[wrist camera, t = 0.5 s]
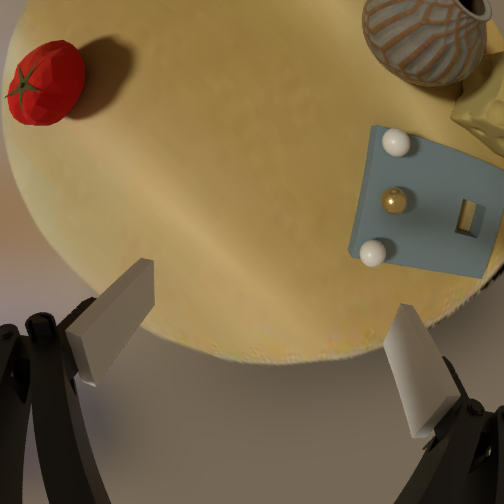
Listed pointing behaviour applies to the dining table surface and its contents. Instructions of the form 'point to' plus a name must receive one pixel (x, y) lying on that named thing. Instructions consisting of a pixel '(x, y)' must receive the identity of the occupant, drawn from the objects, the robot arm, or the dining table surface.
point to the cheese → (484, 103)
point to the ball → (393, 201)
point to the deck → (429, 207)
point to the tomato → (47, 84)
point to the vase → (427, 38)
